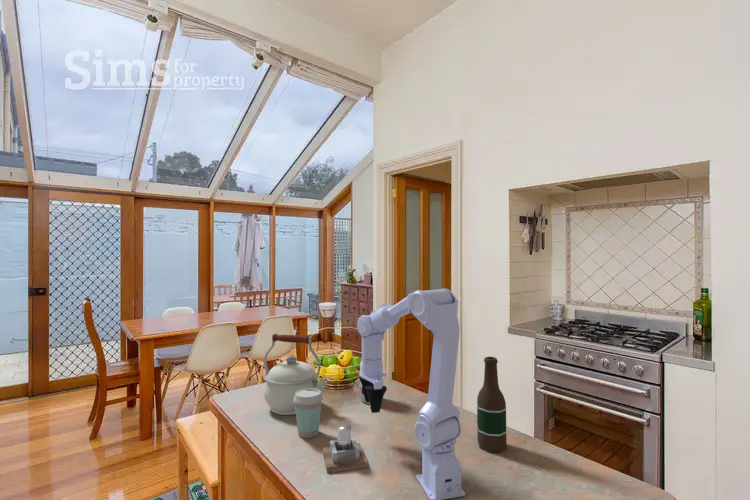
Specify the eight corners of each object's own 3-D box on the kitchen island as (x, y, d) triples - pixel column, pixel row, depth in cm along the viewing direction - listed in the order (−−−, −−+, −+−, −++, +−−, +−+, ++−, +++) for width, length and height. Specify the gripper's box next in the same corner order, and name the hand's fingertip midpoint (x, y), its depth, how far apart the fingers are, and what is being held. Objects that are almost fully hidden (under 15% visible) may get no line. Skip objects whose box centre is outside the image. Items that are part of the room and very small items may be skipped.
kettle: (248, 413, 128) (248, 338, 128) (278, 394, 145) (278, 328, 146) (316, 423, 120) (315, 343, 120) (339, 402, 137) (339, 332, 138)
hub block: (367, 467, 94) (367, 452, 95) (326, 472, 92) (326, 457, 92) (359, 447, 104) (359, 434, 104) (322, 452, 102) (322, 438, 102)
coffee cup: (327, 436, 111) (327, 394, 111) (298, 443, 107) (298, 399, 107) (316, 425, 119) (316, 385, 119) (289, 431, 114) (289, 390, 115)
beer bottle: (486, 455, 100) (485, 362, 100) (471, 441, 107) (470, 355, 108) (512, 451, 102) (511, 360, 102) (496, 438, 109) (495, 353, 110)
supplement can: (357, 398, 141) (356, 357, 141) (377, 395, 144) (377, 354, 145) (365, 406, 133) (365, 362, 134) (387, 402, 137) (386, 360, 137)
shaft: (352, 456, 97) (352, 428, 98) (340, 459, 96) (340, 431, 96) (348, 450, 100) (348, 423, 100) (336, 453, 99) (336, 425, 99)
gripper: (392, 363, 101) (393, 415, 101) (379, 350, 116) (379, 396, 115) (366, 365, 100) (367, 418, 100) (356, 352, 114) (356, 398, 114)
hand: (372, 406), depth 107 cm, fingers open, 7 cm apart
